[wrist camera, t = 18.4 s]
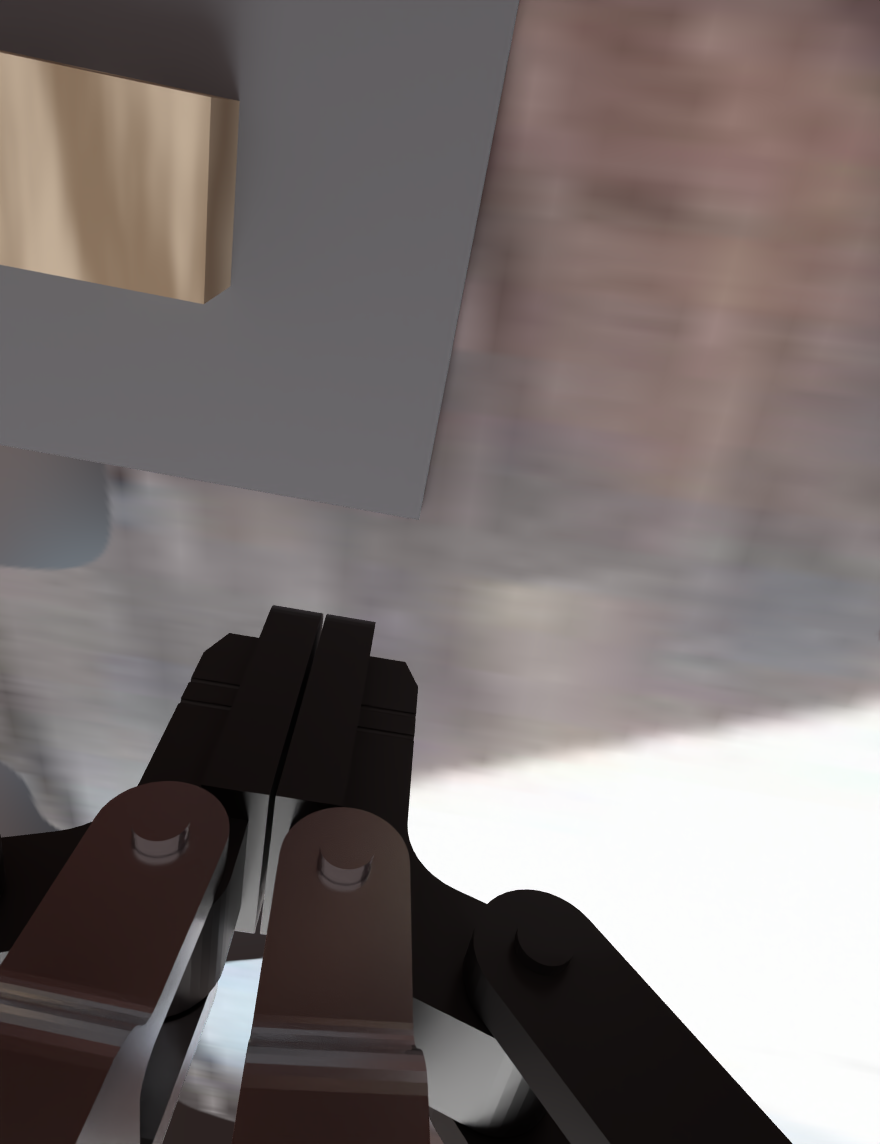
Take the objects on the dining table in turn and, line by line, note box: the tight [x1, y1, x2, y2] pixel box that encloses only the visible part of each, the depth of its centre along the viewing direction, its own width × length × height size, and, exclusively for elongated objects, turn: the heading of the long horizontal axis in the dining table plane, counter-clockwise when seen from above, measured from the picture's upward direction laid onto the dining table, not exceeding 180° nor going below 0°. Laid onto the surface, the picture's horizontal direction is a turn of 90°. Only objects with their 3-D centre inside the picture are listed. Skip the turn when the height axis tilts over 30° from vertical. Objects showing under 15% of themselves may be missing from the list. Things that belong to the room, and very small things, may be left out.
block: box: [0, 50, 240, 304], centre depth 30 cm, size 4×7×11 cm
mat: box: [0, 0, 519, 520], centre depth 32 cm, size 22×26×1 cm
